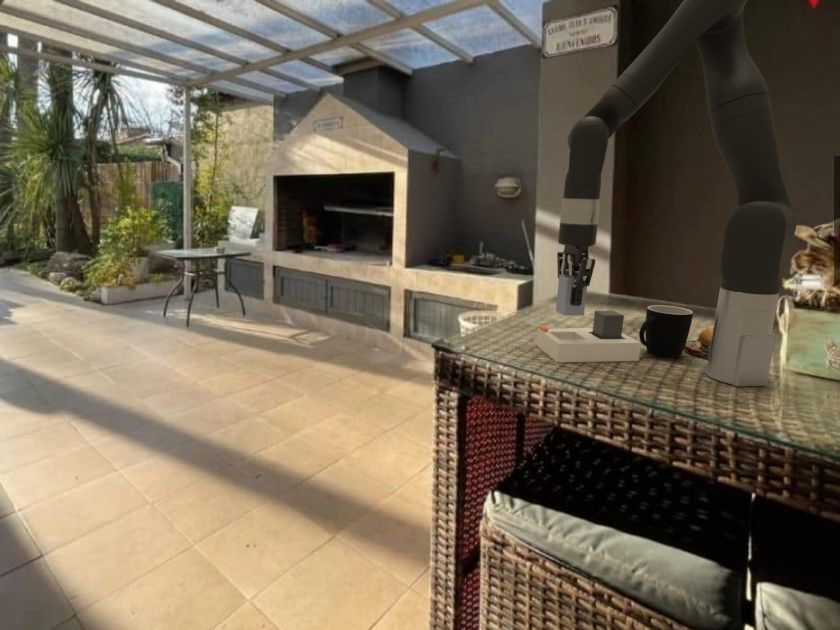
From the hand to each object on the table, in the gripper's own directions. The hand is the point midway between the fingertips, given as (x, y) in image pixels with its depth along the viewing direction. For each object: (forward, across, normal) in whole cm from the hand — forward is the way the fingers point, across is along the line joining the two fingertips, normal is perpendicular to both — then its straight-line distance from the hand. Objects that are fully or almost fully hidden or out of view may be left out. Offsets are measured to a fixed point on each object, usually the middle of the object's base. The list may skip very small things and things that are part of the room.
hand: (570, 302), depth 106 cm
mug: (+11, -2, -20) cm, 24 cm away
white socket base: (+11, 0, -4) cm, 12 cm away
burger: (+12, -2, -34) cm, 36 cm away
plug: (+2, 0, 0) cm, 2 cm away
